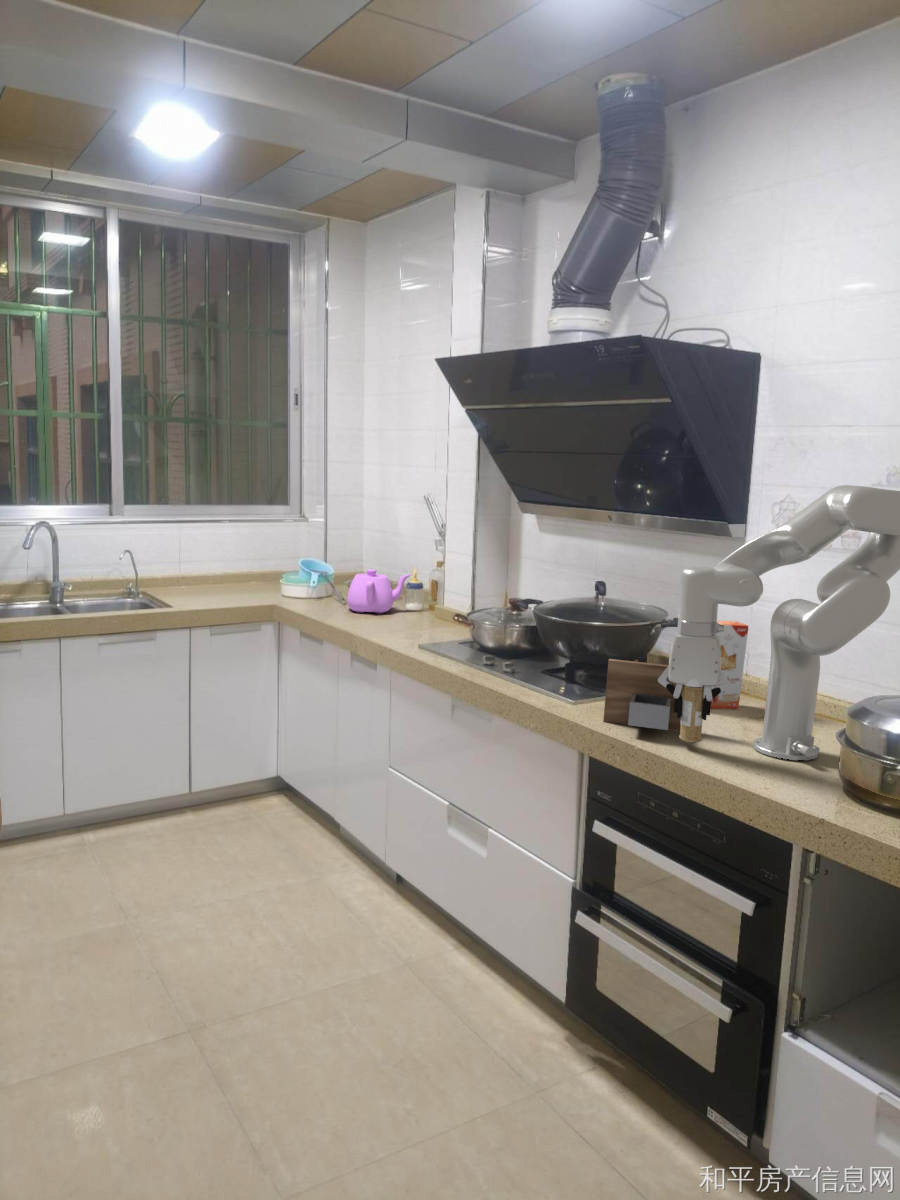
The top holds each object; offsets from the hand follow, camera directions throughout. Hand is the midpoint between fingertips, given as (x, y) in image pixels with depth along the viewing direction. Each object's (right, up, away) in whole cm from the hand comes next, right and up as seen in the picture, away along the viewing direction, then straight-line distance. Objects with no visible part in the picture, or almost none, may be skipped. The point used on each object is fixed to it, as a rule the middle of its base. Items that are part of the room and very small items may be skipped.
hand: (691, 716), depth 185 cm
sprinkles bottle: (0, -5, +1) cm, 5 cm away
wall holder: (-6, -5, +11) cm, 14 cm away
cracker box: (+13, -2, +36) cm, 38 cm away
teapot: (-77, +20, +144) cm, 165 cm away
